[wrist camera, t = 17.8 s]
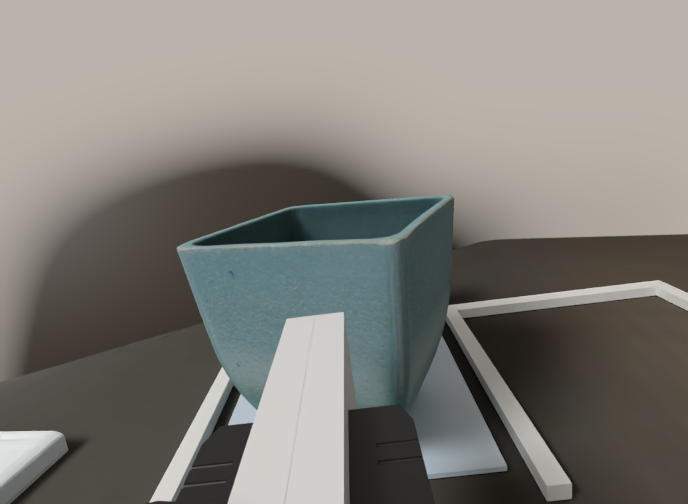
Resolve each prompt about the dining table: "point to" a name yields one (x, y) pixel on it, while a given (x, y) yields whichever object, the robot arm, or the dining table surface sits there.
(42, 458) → the external hard drive
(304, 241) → the flower pot
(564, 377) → the dining table surface
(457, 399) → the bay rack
